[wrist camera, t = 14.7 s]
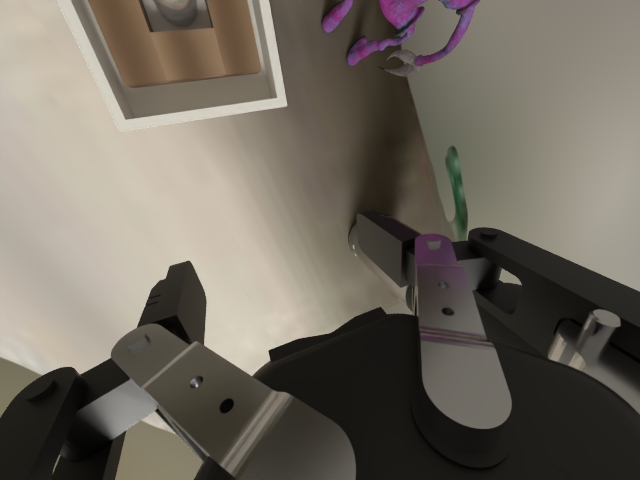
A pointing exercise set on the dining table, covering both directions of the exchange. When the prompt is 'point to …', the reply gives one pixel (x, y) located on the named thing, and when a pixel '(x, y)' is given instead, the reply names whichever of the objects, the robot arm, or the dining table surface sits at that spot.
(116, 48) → the bore plate
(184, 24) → the peg
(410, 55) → the toy
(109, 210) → the dining table surface
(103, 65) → the box
